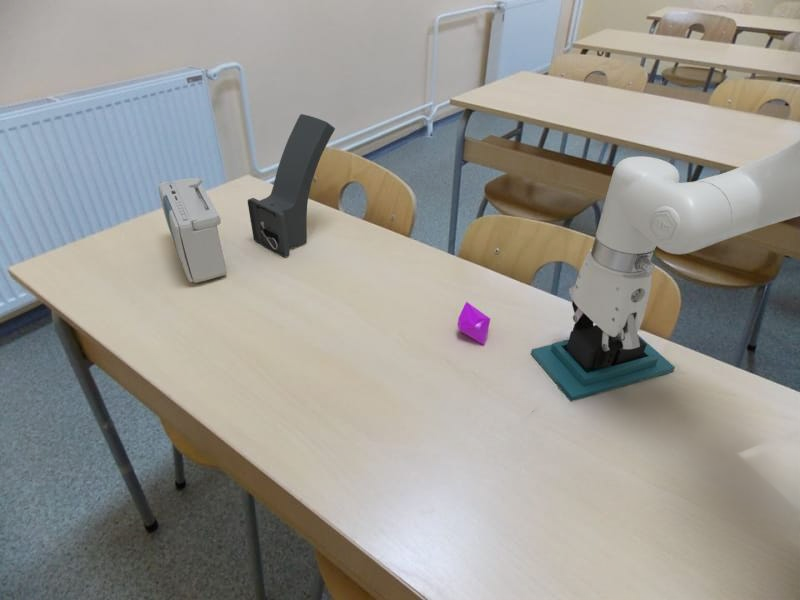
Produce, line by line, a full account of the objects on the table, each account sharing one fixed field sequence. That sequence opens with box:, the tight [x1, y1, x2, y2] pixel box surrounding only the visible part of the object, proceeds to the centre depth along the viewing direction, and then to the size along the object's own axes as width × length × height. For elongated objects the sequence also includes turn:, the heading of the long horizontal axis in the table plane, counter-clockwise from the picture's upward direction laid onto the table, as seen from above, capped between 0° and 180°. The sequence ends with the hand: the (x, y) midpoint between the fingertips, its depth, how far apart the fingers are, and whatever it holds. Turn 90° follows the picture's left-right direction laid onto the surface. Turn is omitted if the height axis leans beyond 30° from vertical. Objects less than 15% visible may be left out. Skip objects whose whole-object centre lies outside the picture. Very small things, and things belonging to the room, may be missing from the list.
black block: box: [611, 336, 647, 366], centre depth 81 cm, size 5×5×4 cm
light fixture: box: [247, 113, 336, 258], centre depth 107 cm, size 11×17×24 cm, turn 139°
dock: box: [530, 334, 676, 402], centre depth 81 cm, size 11×19×2 cm, turn 110°
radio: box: [158, 177, 227, 284], centre depth 100 cm, size 21×8×20 cm, turn 28°
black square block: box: [567, 324, 615, 369], centre depth 79 cm, size 5×5×4 cm
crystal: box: [457, 301, 491, 346], centre depth 86 cm, size 5×5×5 cm
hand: (590, 352), depth 80 cm, fingers closed on black square block, 4 cm apart
